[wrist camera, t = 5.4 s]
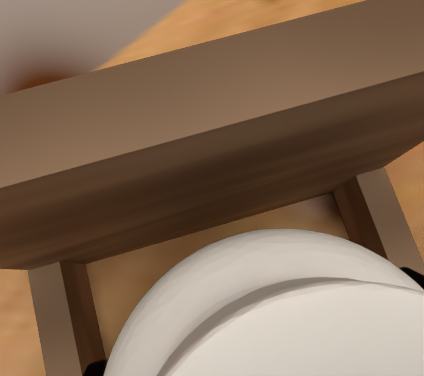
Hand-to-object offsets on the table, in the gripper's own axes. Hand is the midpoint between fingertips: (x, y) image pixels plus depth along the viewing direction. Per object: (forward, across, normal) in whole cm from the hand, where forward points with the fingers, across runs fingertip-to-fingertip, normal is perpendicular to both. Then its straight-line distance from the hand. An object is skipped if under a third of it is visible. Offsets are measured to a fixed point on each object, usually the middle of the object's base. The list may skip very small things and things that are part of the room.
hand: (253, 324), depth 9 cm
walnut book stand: (+7, 0, +4) cm, 8 cm away
